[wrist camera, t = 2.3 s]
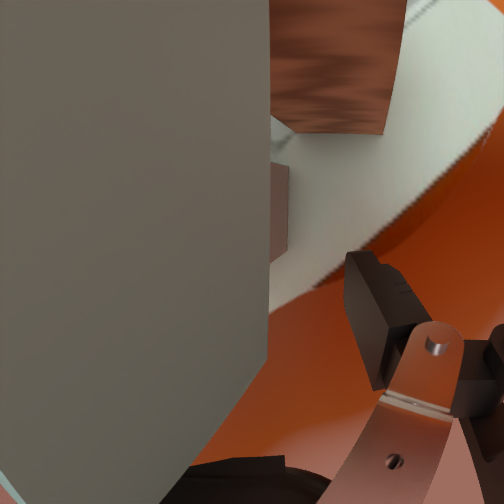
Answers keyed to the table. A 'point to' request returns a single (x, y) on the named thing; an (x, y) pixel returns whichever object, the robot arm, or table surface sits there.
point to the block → (128, 238)
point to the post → (334, 63)
